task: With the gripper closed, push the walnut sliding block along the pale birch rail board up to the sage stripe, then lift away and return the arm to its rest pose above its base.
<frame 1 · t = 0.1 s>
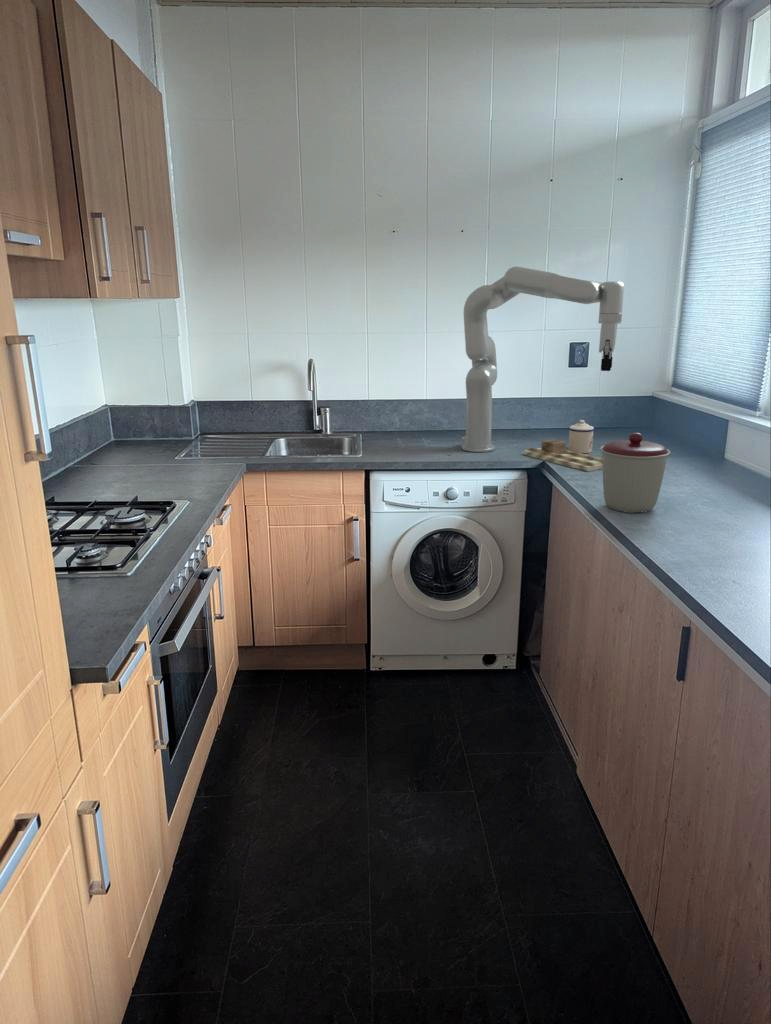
hand: (606, 369, 255), 31 cm above the worktop, tool pointing down, fingers open, 9 cm apart
teacup with lid: (579, 451, 274), on the worktop
canister: (629, 508, 201), on the worktop
walnut slider: (553, 446, 263), point 4 cm above the worktop, slide at 0.0 cm
birch rail board: (566, 460, 258), on the worktop
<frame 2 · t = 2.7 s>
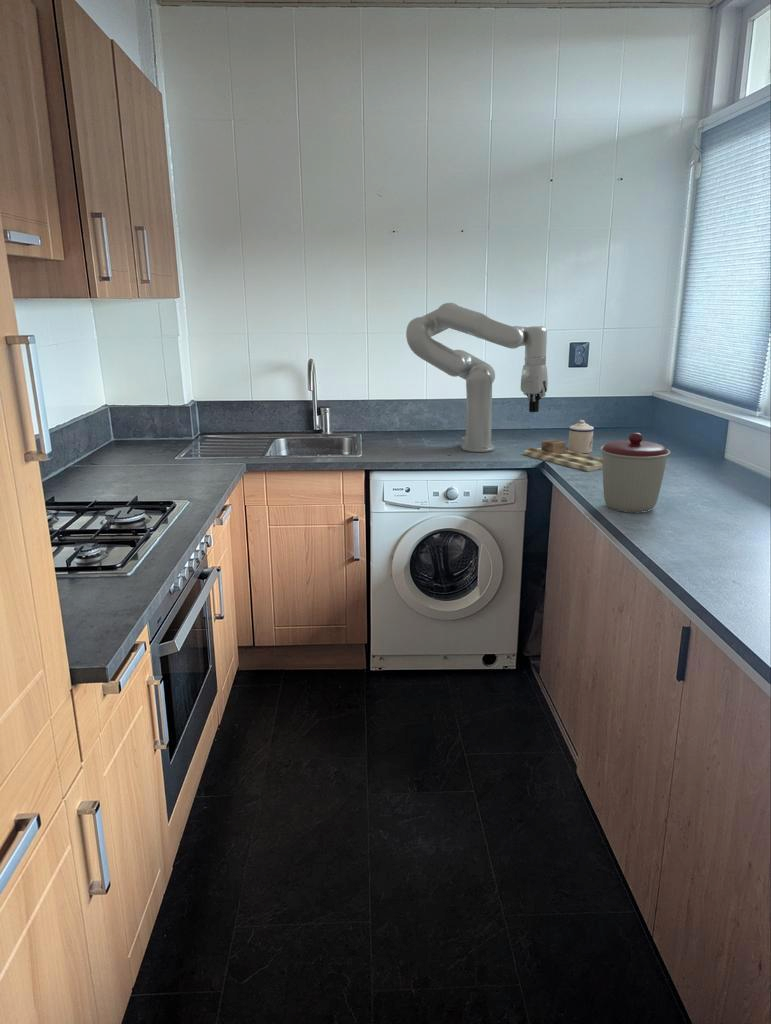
hand: (533, 411, 270), 15 cm above the worktop, tool pointing down, fingers closed
nothing on the worktop moved.
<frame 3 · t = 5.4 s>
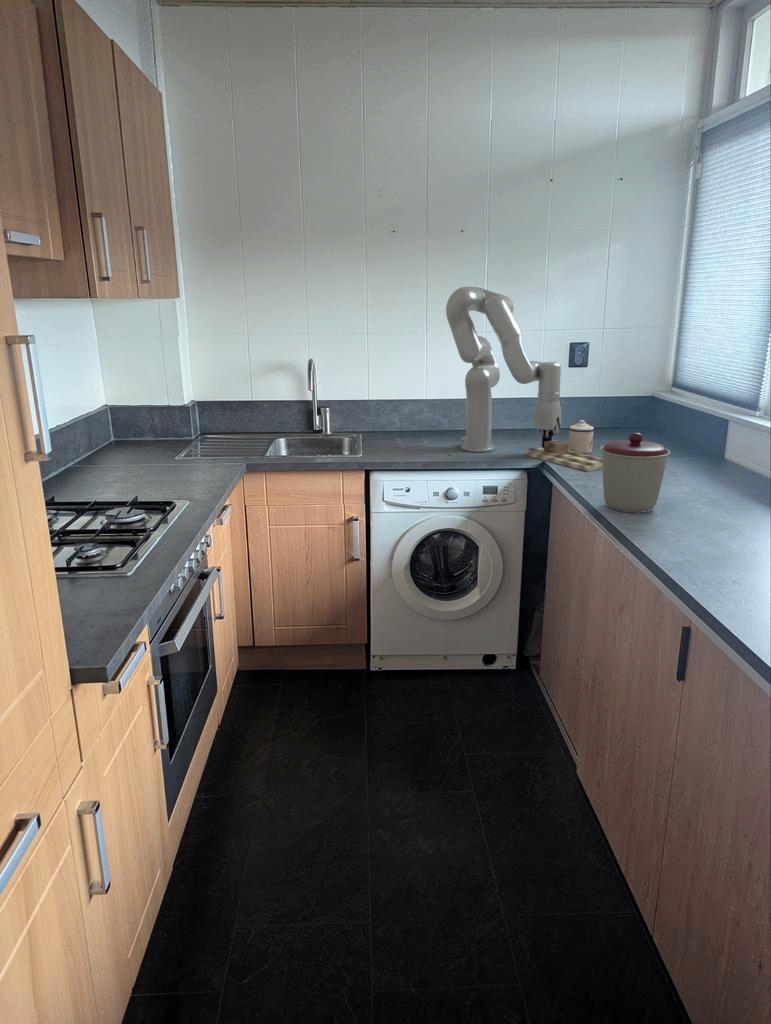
hand: (546, 447, 266), 3 cm above the worktop, tool pointing down, fingers closed
walnut slider: (556, 447, 262), point 4 cm above the worktop, slide at 1.4 cm, touching gripper
everything else where it was.
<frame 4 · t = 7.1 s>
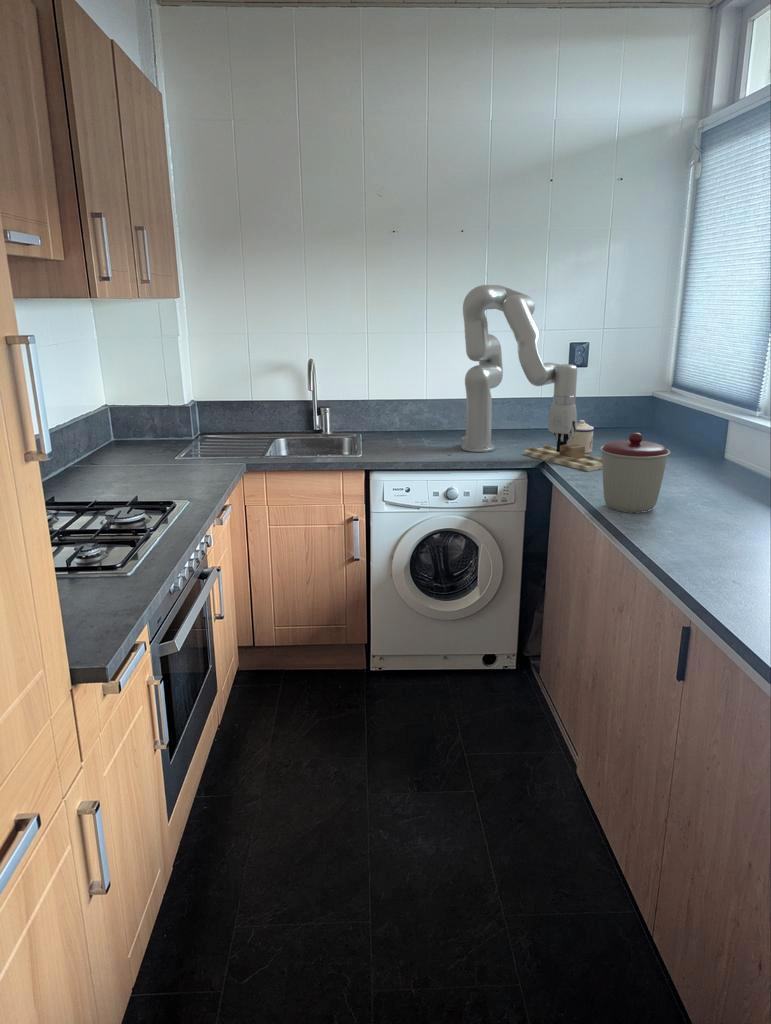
hand: (561, 451, 260), 3 cm above the worktop, tool pointing down, fingers closed
walnut slider: (572, 451, 255), point 4 cm above the worktop, slide at 9.3 cm, touching gripper
everything else where it was.
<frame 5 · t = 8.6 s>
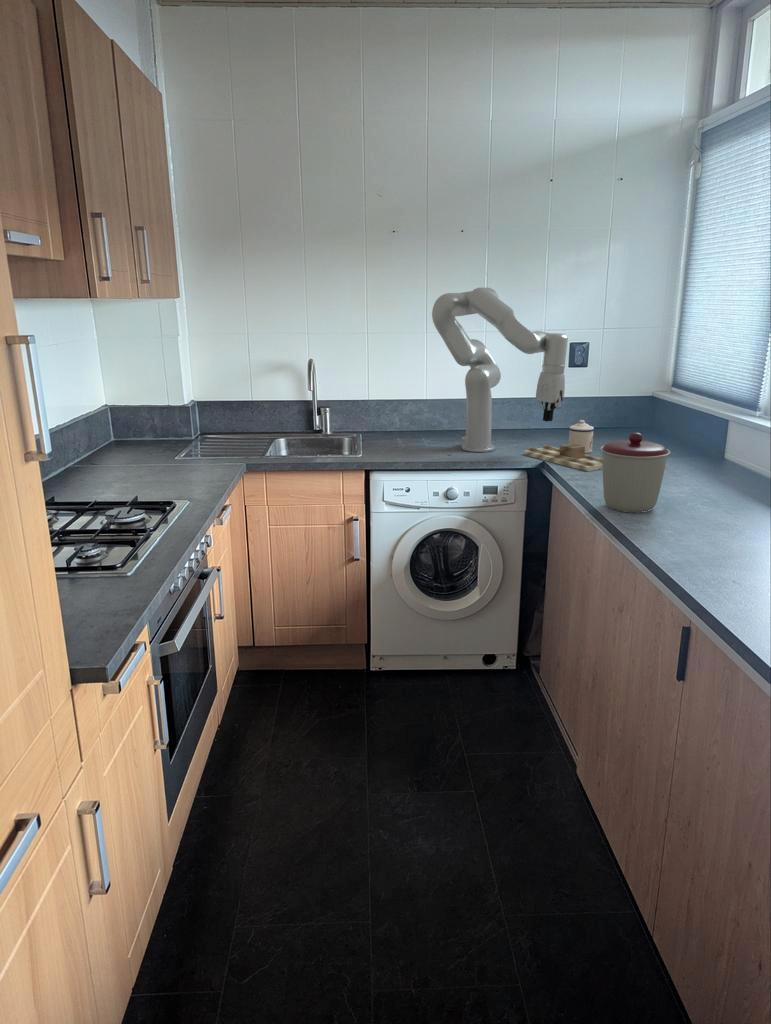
hand: (547, 420, 263), 13 cm above the worktop, tool pointing down, fingers closed
walnut slider: (572, 451, 255), point 4 cm above the worktop, slide at 9.3 cm
everything else where it was.
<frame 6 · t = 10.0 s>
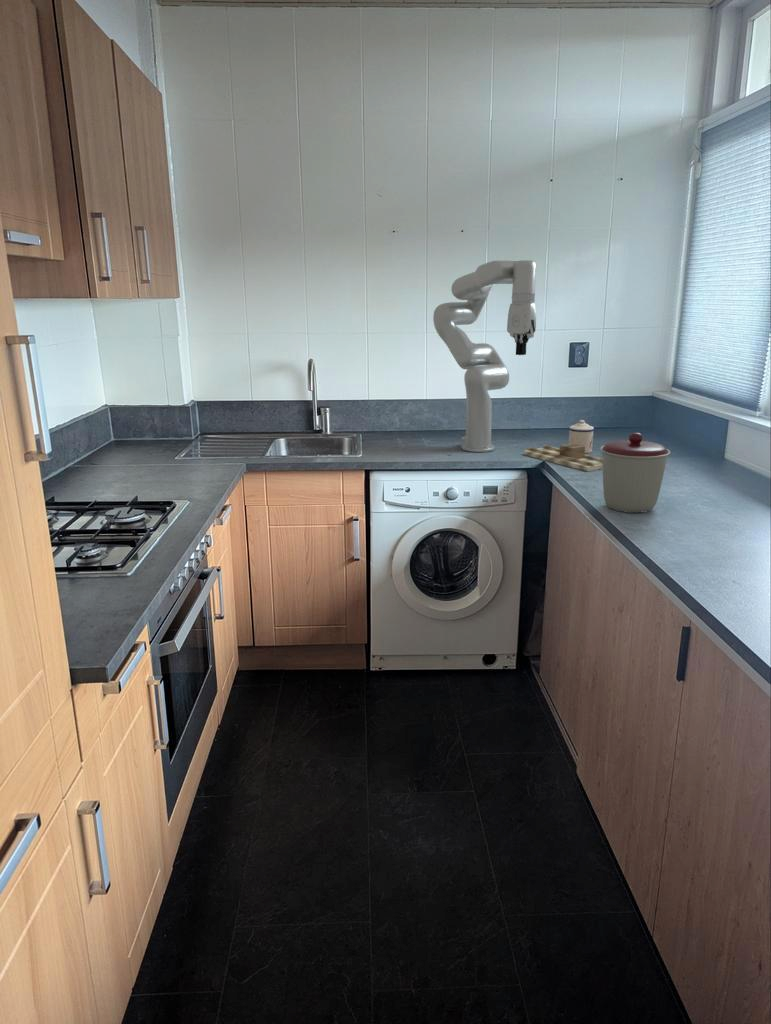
hand: (520, 354, 250), 37 cm above the worktop, tool pointing down, fingers closed
nothing on the worktop moved.
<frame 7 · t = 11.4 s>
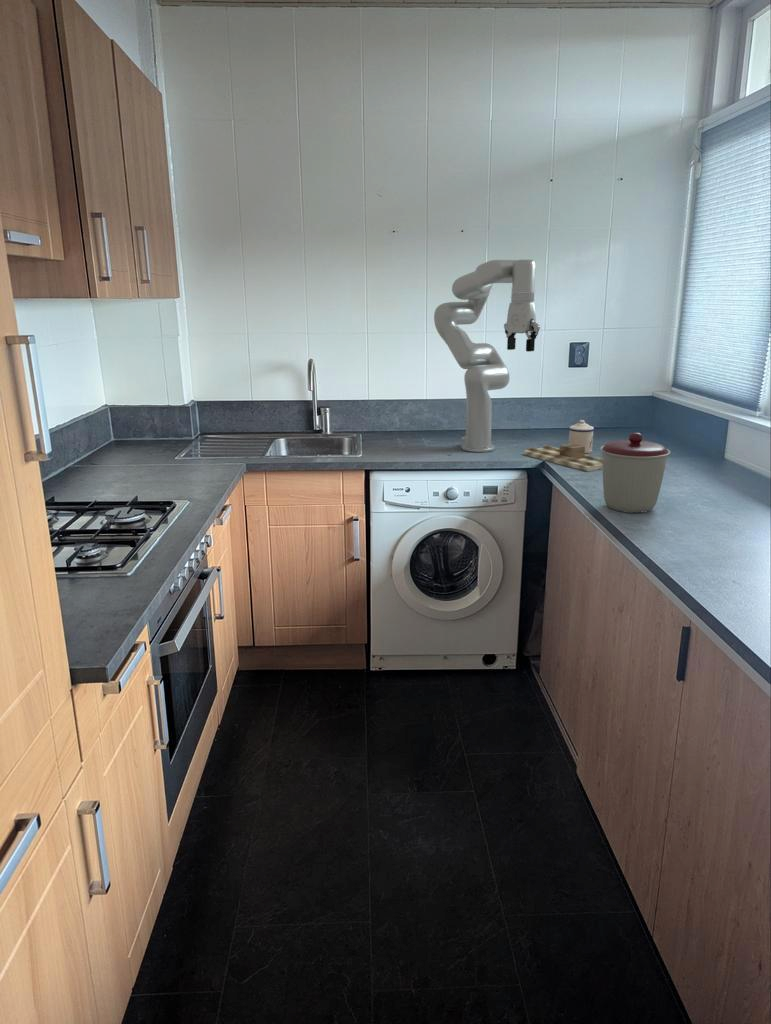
hand: (520, 350, 250), 38 cm above the worktop, tool pointing down, fingers open, 9 cm apart
nothing on the worktop moved.
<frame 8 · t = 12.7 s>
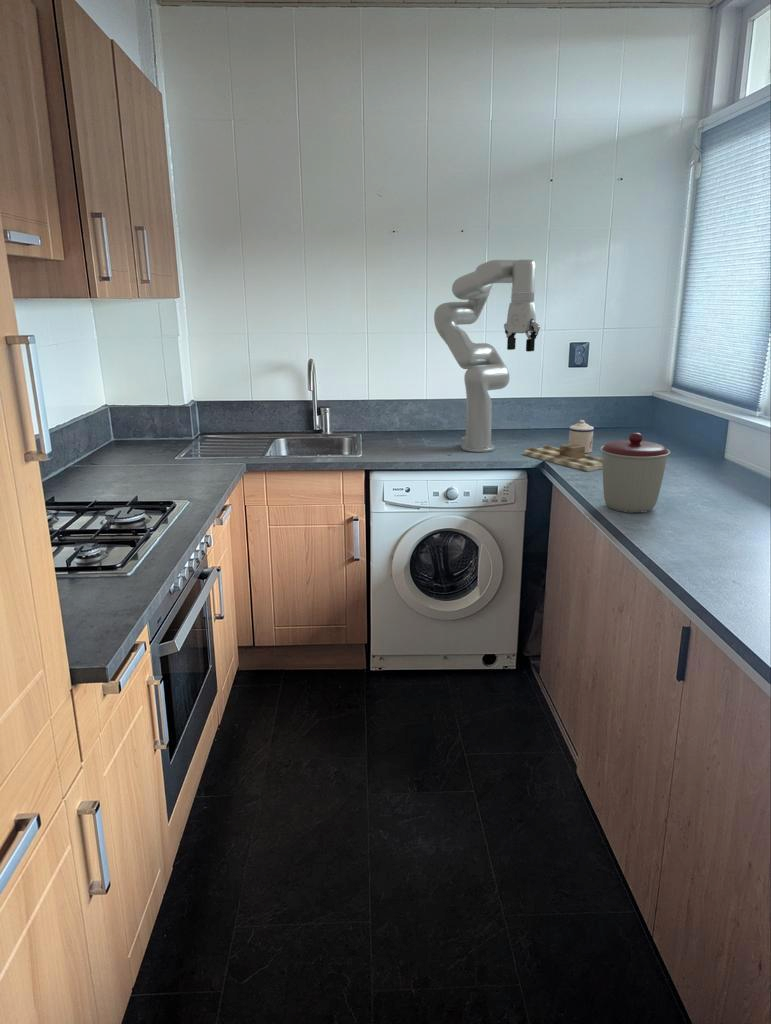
hand: (520, 350, 250), 38 cm above the worktop, tool pointing down, fingers open, 9 cm apart
nothing on the worktop moved.
at the end: walnut slider slide at 9.3 cm; the gripper is holding nothing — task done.
